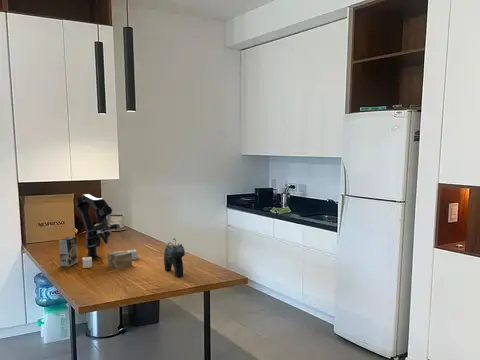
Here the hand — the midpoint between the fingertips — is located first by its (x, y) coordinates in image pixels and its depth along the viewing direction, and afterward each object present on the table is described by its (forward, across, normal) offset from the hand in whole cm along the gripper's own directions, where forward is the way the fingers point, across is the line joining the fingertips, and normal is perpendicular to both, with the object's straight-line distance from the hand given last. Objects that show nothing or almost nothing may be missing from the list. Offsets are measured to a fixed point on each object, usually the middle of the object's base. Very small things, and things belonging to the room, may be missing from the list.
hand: (106, 243), depth 268 cm
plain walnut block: (+15, +7, -4) cm, 17 cm away
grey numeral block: (+12, +9, +11) cm, 19 cm away
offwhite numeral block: (+11, -11, -6) cm, 17 cm away
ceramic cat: (+27, +41, -20) cm, 53 cm away
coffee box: (+7, -24, -2) cm, 25 cm away
